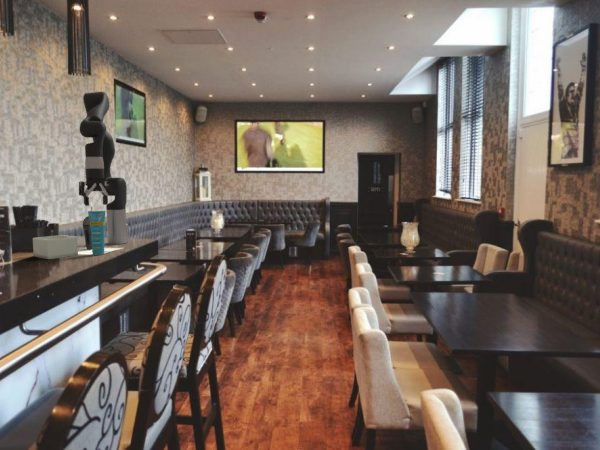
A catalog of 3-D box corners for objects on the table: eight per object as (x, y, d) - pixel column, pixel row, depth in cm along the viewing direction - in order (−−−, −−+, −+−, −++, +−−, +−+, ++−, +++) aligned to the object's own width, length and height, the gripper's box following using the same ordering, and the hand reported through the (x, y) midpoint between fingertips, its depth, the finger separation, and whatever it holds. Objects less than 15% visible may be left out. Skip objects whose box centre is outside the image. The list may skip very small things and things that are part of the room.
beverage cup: (79, 249, 254) (77, 206, 252) (92, 247, 260) (90, 205, 258) (90, 250, 250) (88, 207, 248) (103, 248, 257) (101, 206, 255)
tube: (88, 255, 234) (86, 211, 233) (91, 253, 239) (89, 210, 237) (106, 255, 235) (104, 211, 234) (108, 253, 240) (106, 210, 238)
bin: (62, 252, 244) (61, 235, 243) (78, 255, 236) (77, 237, 235) (33, 256, 233) (32, 237, 233) (48, 259, 225) (47, 240, 225)
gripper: (104, 168, 241) (106, 204, 243) (74, 167, 230) (76, 205, 232) (114, 167, 237) (115, 204, 238) (83, 167, 226) (85, 206, 227)
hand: (96, 205), depth 235 cm, fingers open, 8 cm apart
